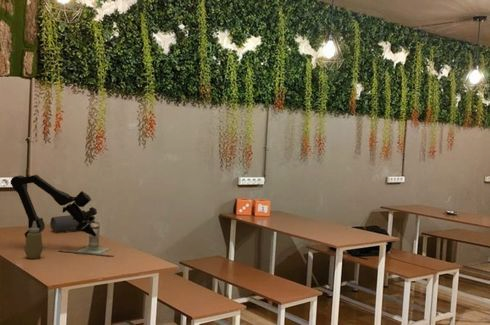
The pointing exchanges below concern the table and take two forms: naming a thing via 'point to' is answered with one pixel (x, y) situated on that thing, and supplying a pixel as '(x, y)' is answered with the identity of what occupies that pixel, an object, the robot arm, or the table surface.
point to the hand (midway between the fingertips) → (96, 234)
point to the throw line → (87, 253)
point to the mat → (93, 250)
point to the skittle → (94, 239)
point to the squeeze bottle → (33, 242)
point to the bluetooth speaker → (63, 223)
